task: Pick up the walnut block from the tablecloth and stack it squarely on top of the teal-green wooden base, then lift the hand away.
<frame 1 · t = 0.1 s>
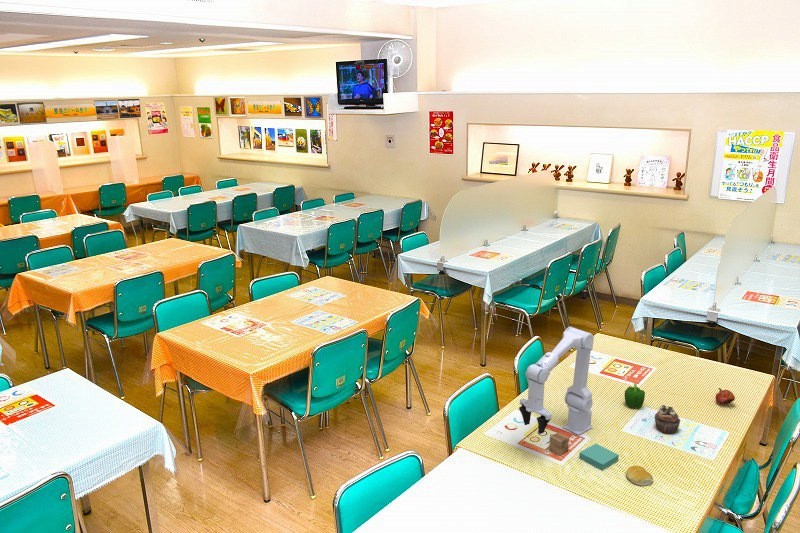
hand: (534, 428, 232), 10 cm above the table, tool pointing down, fingers open, 7 cm apart
walnut block: (558, 451, 235), on the table
pomegranate: (724, 405, 269), on the table
cupcake: (666, 429, 250), on the table
bell pepper: (633, 406, 268), on the table
teal base: (598, 460, 229), on the table
bread roll: (638, 479, 217), on the table
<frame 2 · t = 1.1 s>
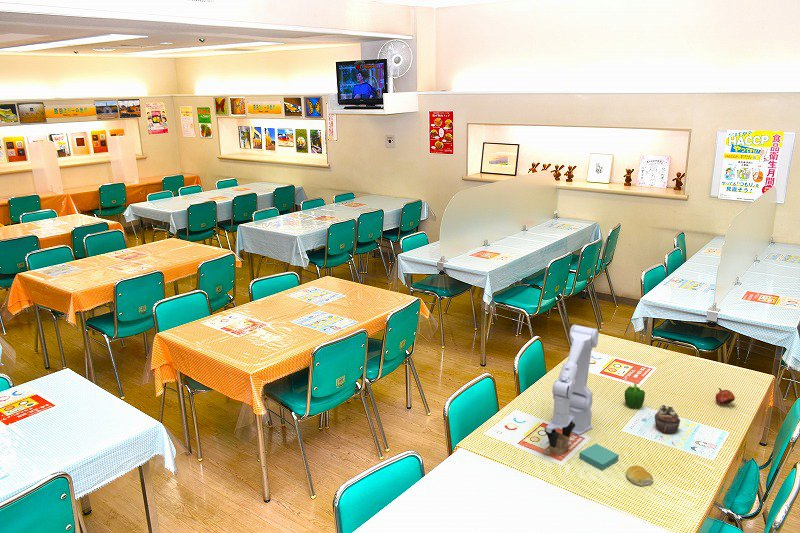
hand: (558, 443, 234), 3 cm above the table, tool pointing down, fingers open, 7 cm apart
nothing on the table moved.
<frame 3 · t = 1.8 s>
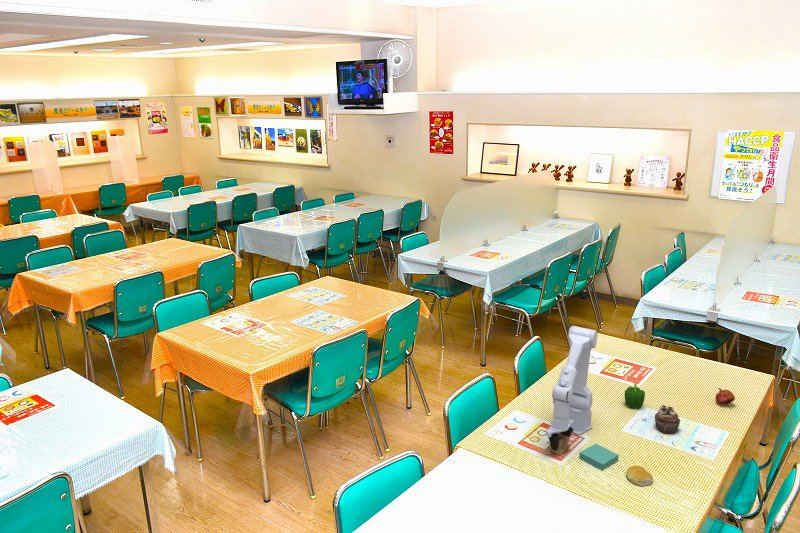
hand: (558, 447, 234), 2 cm above the table, tool pointing down, fingers closed on walnut block, 5 cm apart
walnut block: (558, 450, 235), on the table, touching gripper
everything else where it was.
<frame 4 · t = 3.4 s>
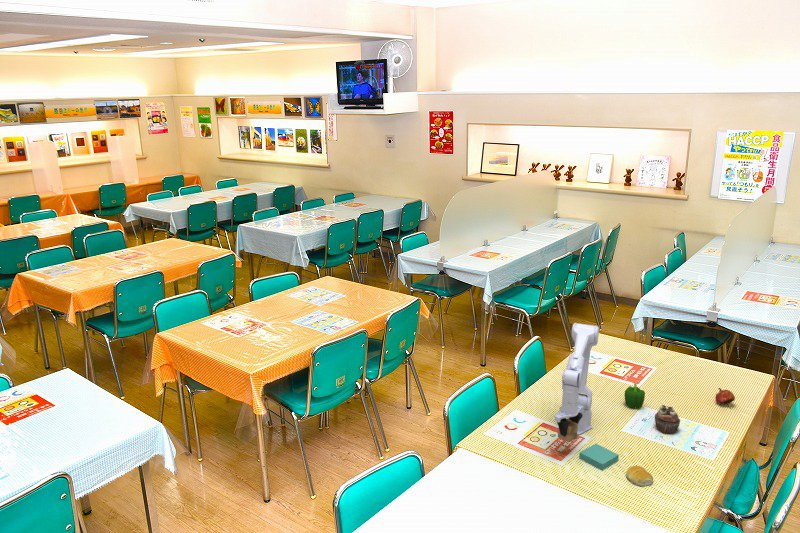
hand: (567, 432, 231), 8 cm above the table, tool pointing down, fingers closed on walnut block, 5 cm apart
walnut block: (567, 437, 232), point 6 cm above the table, touching gripper
everything else where it was.
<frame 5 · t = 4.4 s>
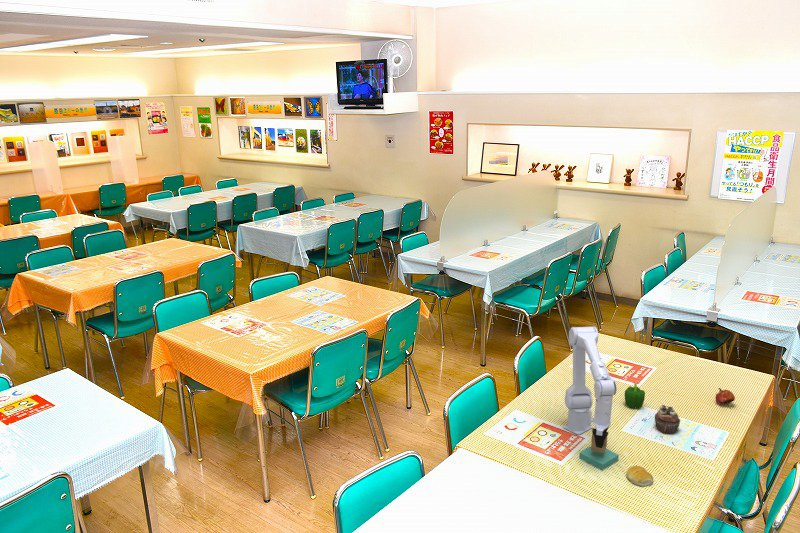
hand: (600, 443, 227), 7 cm above the table, tool pointing down, fingers closed on walnut block, 5 cm apart
walnut block: (598, 448, 228), point 5 cm above the table, touching gripper
everything else where it was.
when the fingers open (6 cm above the table, at t = 5.1 s): walnut block drops 1 cm, point 2 cm above the table.
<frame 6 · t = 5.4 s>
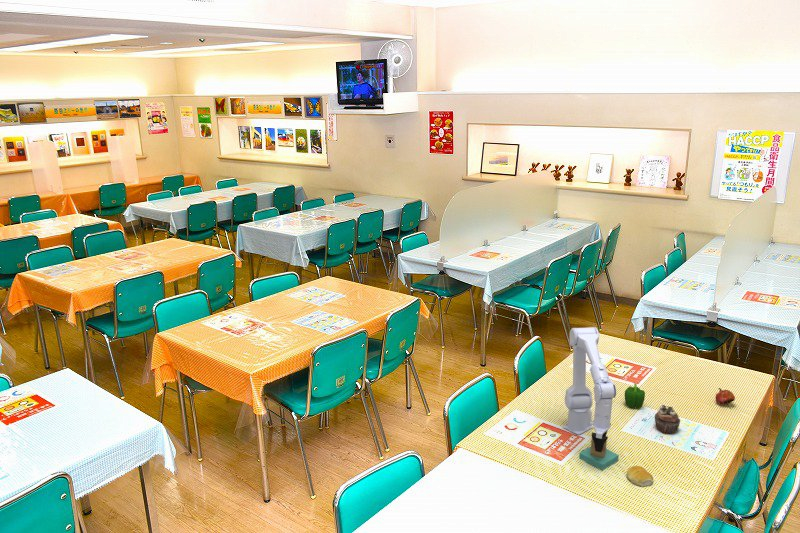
hand: (599, 446, 228), 6 cm above the table, tool pointing down, fingers open, 7 cm apart
walnut block: (598, 453, 229), point 2 cm above the table
everything else where it was.
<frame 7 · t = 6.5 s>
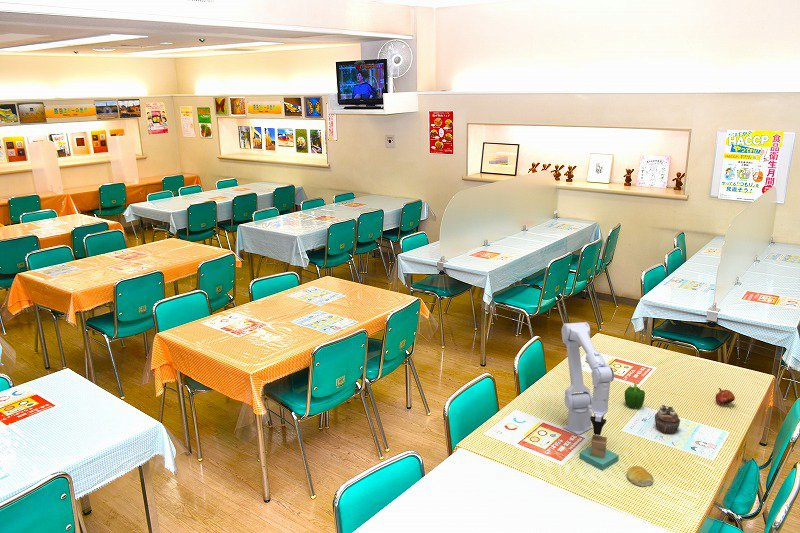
hand: (597, 429, 232), 9 cm above the table, tool pointing down, fingers open, 7 cm apart
nothing on the table moved.
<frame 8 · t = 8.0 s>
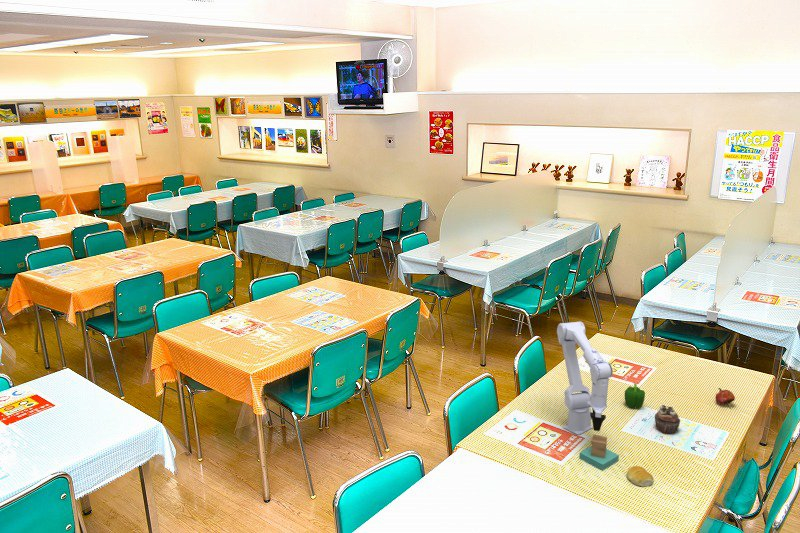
hand: (596, 425, 235), 9 cm above the table, tool pointing down, fingers open, 7 cm apart
walnut block: (598, 453, 229), point 2 cm above the table, touching teal base
teal base: (598, 460, 229), on the table, touching walnut block
everything else where it was.
at the end: walnut block 0.4 cm off-centre on the teal base, point 3.0 cm above the teal base's base; walnut block tilted 0°; the gripper is holding nothing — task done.
